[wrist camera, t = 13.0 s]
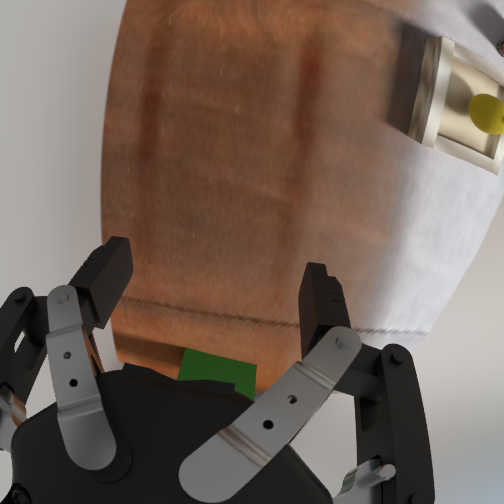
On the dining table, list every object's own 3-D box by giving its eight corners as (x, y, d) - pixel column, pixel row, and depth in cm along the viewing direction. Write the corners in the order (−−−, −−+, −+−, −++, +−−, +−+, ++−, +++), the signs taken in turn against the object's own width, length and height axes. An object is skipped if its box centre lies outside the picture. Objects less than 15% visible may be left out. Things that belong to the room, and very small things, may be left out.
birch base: (424, 38, 27) (442, 36, 22) (498, 79, 27) (519, 84, 22) (405, 134, 36) (421, 144, 31) (479, 162, 36) (497, 175, 32)
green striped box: (256, 364, 68) (249, 456, 48) (248, 378, 72) (240, 463, 52) (185, 347, 66) (162, 438, 46) (182, 362, 70) (161, 446, 50)
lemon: (455, 90, 27) (490, 100, 21) (482, 89, 26) (517, 99, 20) (460, 127, 30) (493, 143, 24) (486, 124, 29) (520, 140, 22)
